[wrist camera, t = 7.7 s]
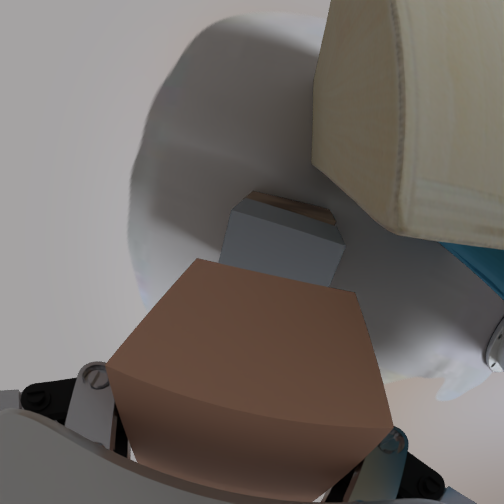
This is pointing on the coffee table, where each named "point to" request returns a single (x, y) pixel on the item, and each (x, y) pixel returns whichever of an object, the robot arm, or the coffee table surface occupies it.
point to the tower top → (281, 243)
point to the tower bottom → (294, 207)
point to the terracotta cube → (251, 384)
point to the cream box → (415, 115)
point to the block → (482, 263)
